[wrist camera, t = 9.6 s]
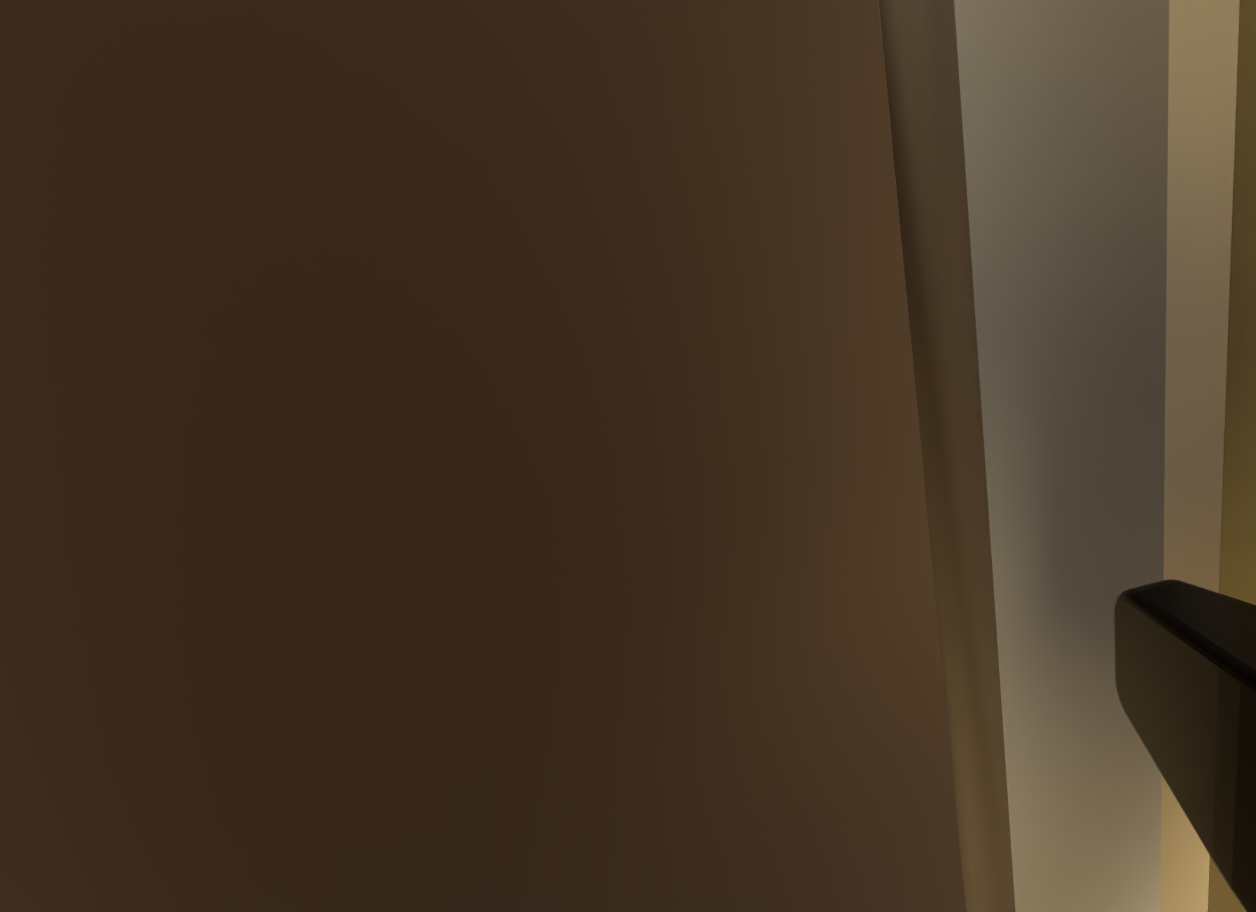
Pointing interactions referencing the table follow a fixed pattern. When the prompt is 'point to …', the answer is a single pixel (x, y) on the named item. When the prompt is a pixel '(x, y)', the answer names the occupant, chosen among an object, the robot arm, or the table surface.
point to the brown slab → (461, 463)
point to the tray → (1064, 406)
